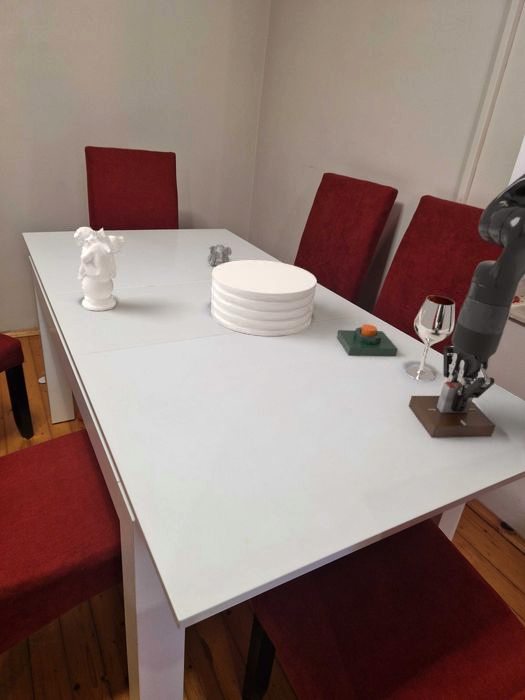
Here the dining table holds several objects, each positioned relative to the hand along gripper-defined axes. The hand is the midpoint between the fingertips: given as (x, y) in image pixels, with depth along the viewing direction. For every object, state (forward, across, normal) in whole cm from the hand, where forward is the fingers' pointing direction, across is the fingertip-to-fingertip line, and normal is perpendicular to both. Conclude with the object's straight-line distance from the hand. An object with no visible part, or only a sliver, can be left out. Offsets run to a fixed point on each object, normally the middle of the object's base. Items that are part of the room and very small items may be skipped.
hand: (453, 406), depth 86 cm
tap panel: (+3, 0, 0) cm, 3 cm away
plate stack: (+4, +50, +30) cm, 58 cm away
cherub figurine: (+4, +54, +72) cm, 90 cm away
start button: (0, +31, +6) cm, 32 cm away
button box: (+3, +31, +6) cm, 32 cm away
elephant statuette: (+4, +94, +39) cm, 102 cm away
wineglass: (+4, +18, -2) cm, 18 cm away
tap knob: (+1, 0, 0) cm, 1 cm away
